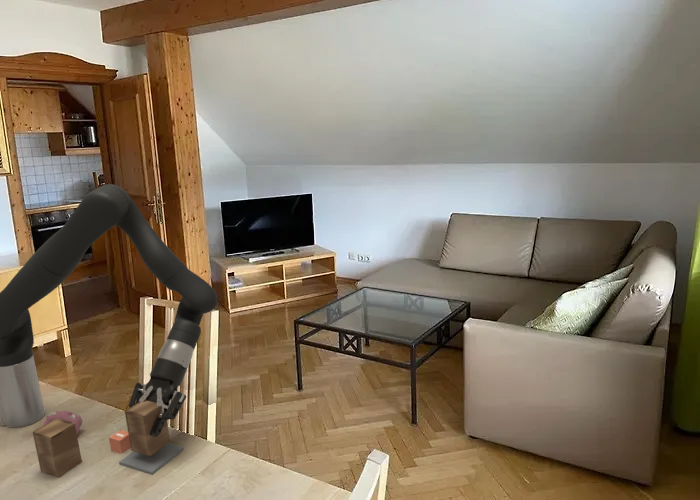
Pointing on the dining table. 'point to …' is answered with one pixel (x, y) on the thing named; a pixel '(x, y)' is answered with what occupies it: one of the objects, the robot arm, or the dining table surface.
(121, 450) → the red cube
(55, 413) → the video game controller
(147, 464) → the slate mat
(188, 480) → the dining table surface
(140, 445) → the brown rectangular block
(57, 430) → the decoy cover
